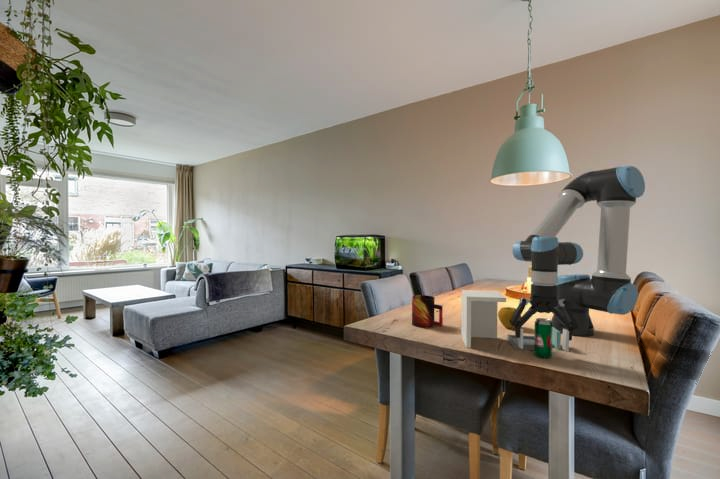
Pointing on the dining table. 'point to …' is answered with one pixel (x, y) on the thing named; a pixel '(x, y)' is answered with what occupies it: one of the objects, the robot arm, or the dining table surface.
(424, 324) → the mug
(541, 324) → the soda can
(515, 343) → the sled
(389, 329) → the dining table surface
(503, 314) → the apple
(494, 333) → the cubby
